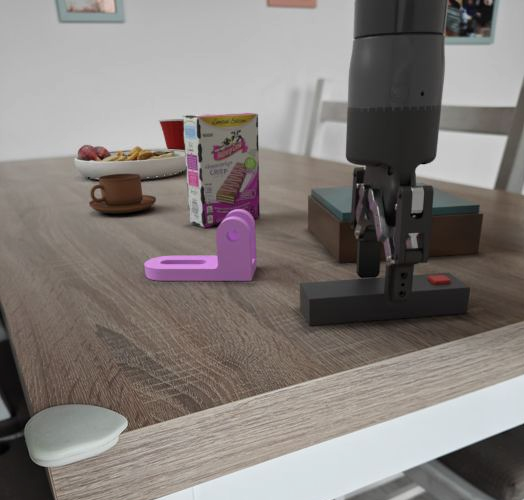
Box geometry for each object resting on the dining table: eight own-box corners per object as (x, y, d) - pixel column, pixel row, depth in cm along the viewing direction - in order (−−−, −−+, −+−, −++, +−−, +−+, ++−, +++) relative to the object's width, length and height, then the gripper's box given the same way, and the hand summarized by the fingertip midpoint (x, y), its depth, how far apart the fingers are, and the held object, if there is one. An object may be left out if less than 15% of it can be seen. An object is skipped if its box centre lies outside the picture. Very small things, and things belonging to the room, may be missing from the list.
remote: (299, 308, 54) (299, 279, 53) (446, 297, 56) (449, 269, 54) (309, 326, 50) (309, 295, 49) (466, 313, 52) (471, 284, 50)
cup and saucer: (130, 219, 95) (125, 182, 92) (76, 215, 99) (70, 180, 97) (169, 206, 105) (166, 172, 102) (118, 203, 109) (114, 171, 107)
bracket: (256, 266, 67) (254, 208, 64) (251, 280, 62) (248, 218, 59) (153, 266, 69) (146, 210, 66) (139, 280, 64) (131, 220, 61)
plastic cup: (198, 155, 186) (195, 117, 181) (191, 159, 177) (188, 118, 171) (166, 156, 187) (163, 118, 182) (158, 160, 178) (154, 119, 173)
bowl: (194, 165, 162) (192, 136, 158) (188, 180, 135) (185, 146, 131) (91, 169, 161) (86, 140, 157) (64, 185, 133) (58, 151, 130)
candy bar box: (205, 229, 86) (196, 115, 79) (189, 224, 90) (179, 115, 83) (262, 218, 92) (259, 111, 85) (245, 214, 96) (241, 111, 89)
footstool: (420, 221, 87) (424, 182, 84) (478, 253, 69) (484, 205, 67) (307, 228, 85) (308, 188, 82) (338, 262, 68) (339, 213, 65)
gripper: (479, 101, 39) (451, 314, 46) (406, 99, 52) (393, 266, 59) (376, 104, 38) (364, 321, 45) (328, 101, 51) (324, 270, 58)
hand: (381, 290), depth 52 cm, fingers open, 8 cm apart
